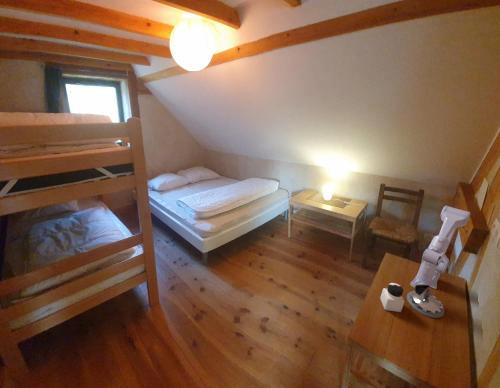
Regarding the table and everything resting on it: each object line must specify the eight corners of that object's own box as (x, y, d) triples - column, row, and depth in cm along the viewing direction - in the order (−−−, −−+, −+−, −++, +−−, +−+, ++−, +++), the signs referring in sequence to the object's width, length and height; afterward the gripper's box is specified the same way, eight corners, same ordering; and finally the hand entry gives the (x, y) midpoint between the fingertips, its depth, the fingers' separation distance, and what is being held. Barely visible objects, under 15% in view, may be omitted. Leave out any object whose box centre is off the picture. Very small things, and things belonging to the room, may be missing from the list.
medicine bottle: (401, 312, 108) (407, 293, 103) (384, 310, 109) (390, 291, 104) (395, 300, 114) (401, 282, 109) (379, 298, 116) (385, 280, 111)
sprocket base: (408, 287, 122) (409, 285, 121) (444, 302, 113) (445, 300, 112) (404, 306, 111) (404, 304, 110) (443, 324, 102) (444, 322, 102)
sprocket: (411, 287, 120) (413, 280, 118) (442, 300, 112) (446, 292, 110) (407, 304, 111) (410, 296, 108) (441, 319, 103) (445, 311, 101)
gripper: (424, 282, 102) (415, 304, 108) (445, 273, 107) (436, 295, 112) (409, 271, 108) (402, 292, 114) (430, 264, 113) (422, 284, 118)
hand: (418, 293), depth 113 cm, fingers closed
